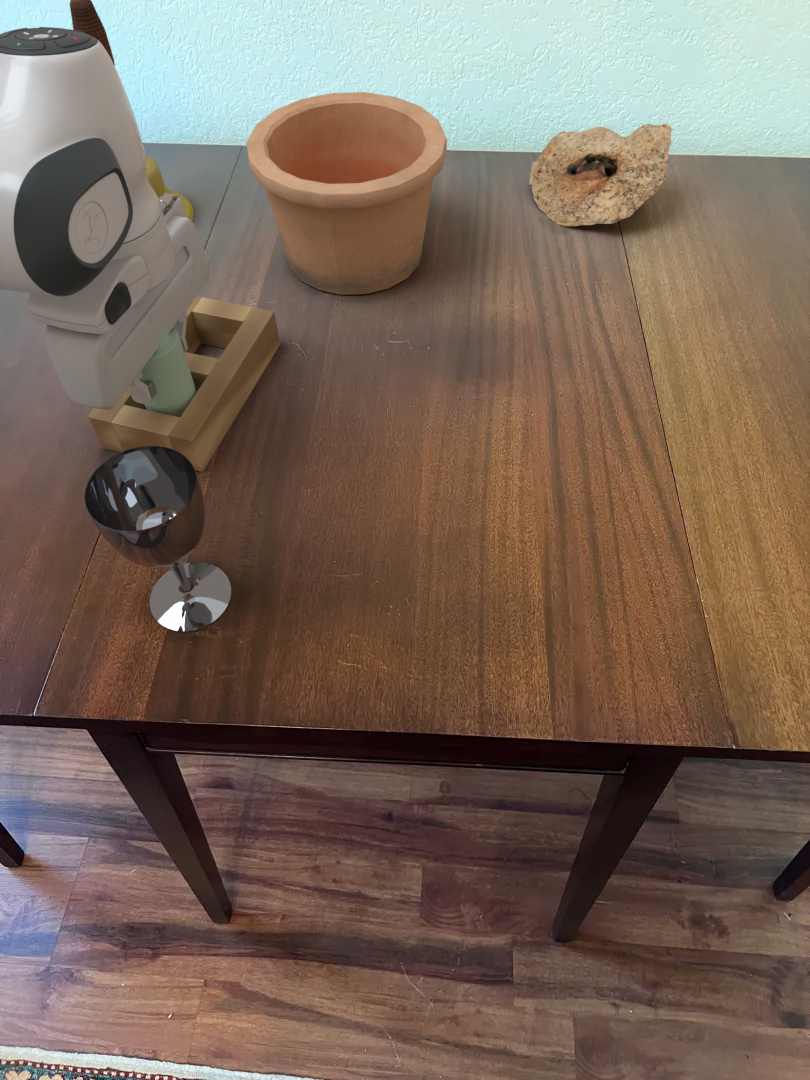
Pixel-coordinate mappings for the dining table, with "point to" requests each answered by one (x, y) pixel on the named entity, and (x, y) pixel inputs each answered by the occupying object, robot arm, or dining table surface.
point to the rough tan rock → (599, 174)
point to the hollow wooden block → (200, 384)
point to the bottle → (169, 376)
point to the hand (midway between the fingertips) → (161, 375)
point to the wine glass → (160, 531)
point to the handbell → (92, 25)
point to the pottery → (349, 186)
